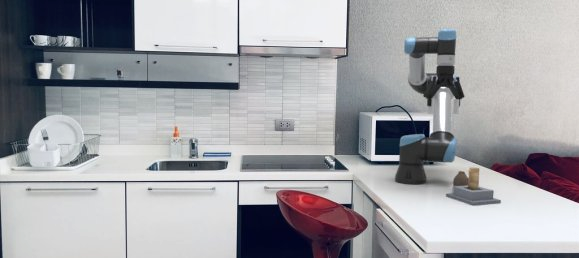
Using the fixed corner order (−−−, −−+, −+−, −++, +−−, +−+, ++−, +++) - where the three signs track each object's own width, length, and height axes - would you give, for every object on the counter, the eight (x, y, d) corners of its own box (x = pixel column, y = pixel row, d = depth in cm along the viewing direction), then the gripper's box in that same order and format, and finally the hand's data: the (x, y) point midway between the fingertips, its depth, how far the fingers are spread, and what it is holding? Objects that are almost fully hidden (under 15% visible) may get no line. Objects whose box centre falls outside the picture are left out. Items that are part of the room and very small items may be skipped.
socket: (445, 196, 191) (446, 185, 191) (472, 194, 196) (472, 183, 196) (473, 205, 176) (473, 193, 176) (500, 203, 181) (501, 191, 181)
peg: (465, 195, 187) (466, 167, 186) (473, 195, 189) (474, 167, 188) (472, 198, 184) (473, 169, 183) (480, 197, 185) (481, 168, 184)
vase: (449, 189, 205) (450, 170, 204) (461, 188, 207) (462, 170, 206) (460, 193, 198) (461, 173, 198) (472, 192, 201) (473, 172, 200)
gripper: (427, 64, 188) (425, 114, 190) (474, 66, 197) (472, 114, 199) (416, 64, 195) (414, 113, 197) (462, 66, 204) (460, 113, 206)
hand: (443, 113), depth 198 cm, fingers open, 13 cm apart
